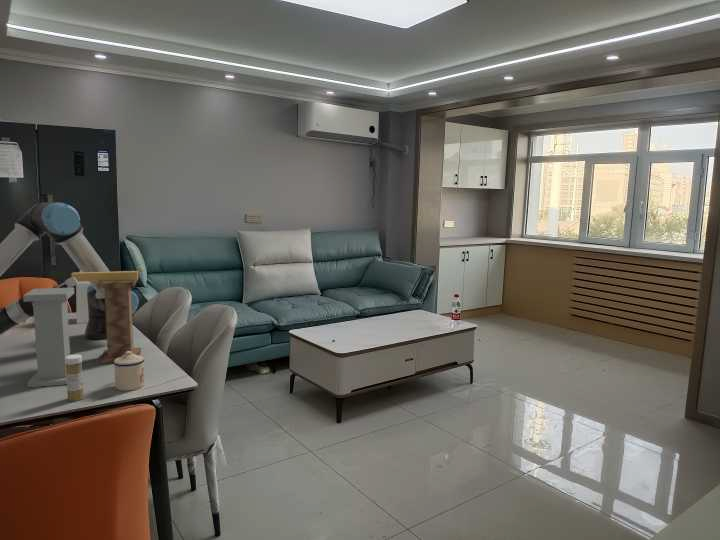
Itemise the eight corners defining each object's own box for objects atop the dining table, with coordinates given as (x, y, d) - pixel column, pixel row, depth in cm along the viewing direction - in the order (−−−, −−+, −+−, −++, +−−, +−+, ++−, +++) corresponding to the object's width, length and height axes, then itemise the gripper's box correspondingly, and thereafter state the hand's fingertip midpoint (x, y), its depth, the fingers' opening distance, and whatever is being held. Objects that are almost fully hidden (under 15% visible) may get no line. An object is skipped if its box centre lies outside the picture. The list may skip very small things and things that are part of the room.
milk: (76, 323, 249) (73, 269, 245) (77, 318, 259) (73, 266, 255) (104, 321, 255) (101, 268, 251) (103, 316, 265) (101, 265, 261)
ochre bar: (71, 281, 189) (71, 273, 189) (73, 280, 192) (73, 272, 192) (137, 279, 196) (137, 272, 196) (138, 278, 199) (137, 270, 198)
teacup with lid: (147, 388, 169) (146, 353, 167) (116, 393, 164) (115, 357, 162) (140, 377, 179) (139, 344, 177) (111, 381, 174) (110, 347, 172)
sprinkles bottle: (72, 395, 161) (70, 353, 159) (87, 396, 161) (84, 354, 159) (64, 401, 157) (61, 358, 155) (78, 402, 157) (76, 358, 155)
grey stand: (27, 387, 167) (20, 295, 163) (38, 374, 179) (32, 288, 175) (73, 384, 171) (67, 294, 167) (81, 371, 183) (76, 287, 179)
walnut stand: (99, 364, 191) (95, 283, 187) (105, 353, 204) (101, 277, 199) (138, 361, 195) (134, 282, 191) (141, 351, 208) (138, 276, 203)
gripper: (40, 309, 200) (92, 280, 204) (20, 325, 176) (79, 291, 180) (28, 293, 198) (80, 264, 202) (6, 306, 174) (65, 273, 178)
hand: (80, 277), depth 191 cm, fingers open, 13 cm apart
